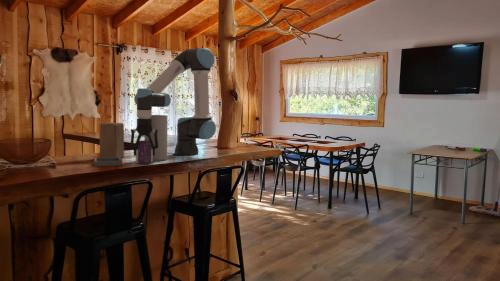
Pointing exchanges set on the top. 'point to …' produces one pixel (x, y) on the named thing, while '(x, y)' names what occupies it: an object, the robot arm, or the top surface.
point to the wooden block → (111, 140)
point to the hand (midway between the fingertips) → (144, 161)
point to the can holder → (108, 161)
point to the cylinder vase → (159, 136)
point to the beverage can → (144, 152)
